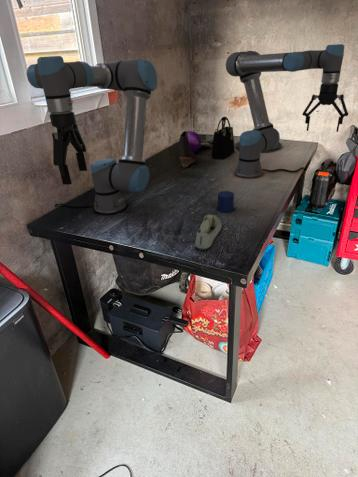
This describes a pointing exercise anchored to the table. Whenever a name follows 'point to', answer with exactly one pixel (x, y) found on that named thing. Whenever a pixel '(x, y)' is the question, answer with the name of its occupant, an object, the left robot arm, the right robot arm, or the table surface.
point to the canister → (225, 201)
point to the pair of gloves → (207, 141)
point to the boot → (186, 151)
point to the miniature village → (265, 151)
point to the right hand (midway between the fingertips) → (322, 130)
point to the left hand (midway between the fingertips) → (75, 177)
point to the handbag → (223, 140)
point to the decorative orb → (193, 141)
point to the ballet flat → (207, 232)
